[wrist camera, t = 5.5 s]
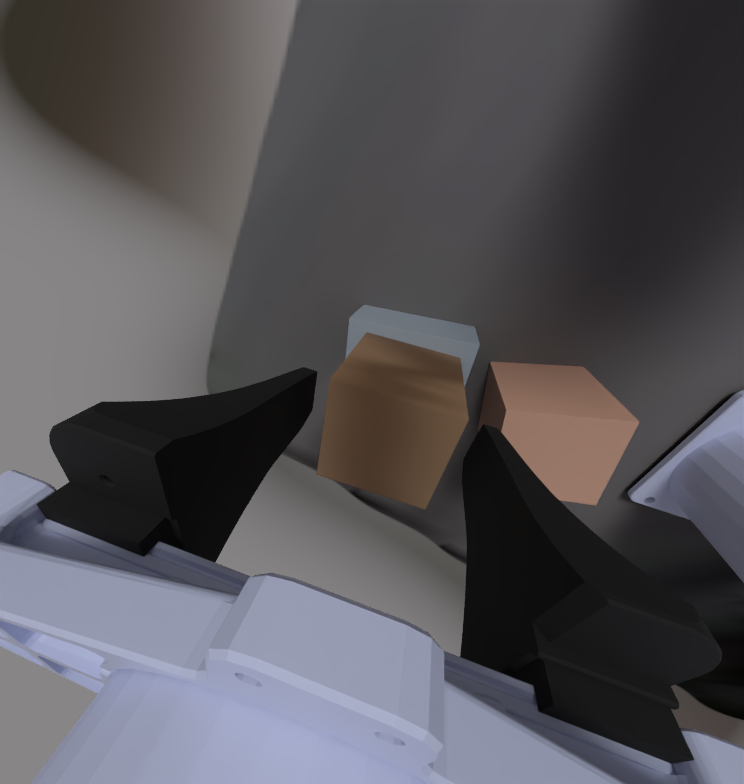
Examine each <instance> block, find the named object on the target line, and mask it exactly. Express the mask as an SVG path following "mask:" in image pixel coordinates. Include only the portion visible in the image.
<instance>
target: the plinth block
mask: <svg viewBox="0 0 744 784" xmlns="http://www.w3.org/2000/svg"><path fill="white" fill-rule="evenodd" d="M366 332H368V333H372V334H375V335H379V336H383V337H386V338H390V339H394V340H397V341H401V342H405V343H408V344H412V345H415V346H419V347H423V348H426V349H430V350H434V351H437V352H441V353H444V354H448V355H452V356H455V357H459V358H461V365H462V373H463V380H464V387H465V385H466V382H467V379H468V376H469V374H470V371H471V368H472V365H473V363H474V360H475V357H476V354H477V352H478V349H479V346H480V343H479V340H478V336H477V333H476V329H475V327H473V326H468V325H463V324H458V323H453V322H448V321H443V320H438V319H433V318H428V317H423V316H418V315H413V314H408V313H403V312H398V311H393V310H388V309H383V308H378V307H373V306H368V305H363V306H362V307H361V308H360V309H359V310H358V311H356V312H355V313H354V314H353V315H352V316H351V317H350V318H349V329H348V339H347V350H346V358H347V357H348V355H349V354H350V353H351V351H352V350H353V349H354V348H355V346H356V345H357V344H358V342H359V341H360V340H361V339H362V337H363V336H364V335H365V333H366Z"/></svg>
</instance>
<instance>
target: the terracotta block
mask: <svg viewBox="0 0 744 784" xmlns="http://www.w3.org/2000/svg"><path fill="white" fill-rule="evenodd" d="M483 424H485V425H488V426H492V427H495V428H498V429H499V430H500V431H501V432H502V434H503V435H504V436H505V437H506V438H507V440H508V441H509V442H510V444H511V445H512V446H513V447H514V449H515V450H516V451H517V453H518V454H519V455H520V456H521V458H522V459H523V460H524V461H525V463H526V464H527V465H528V466H529V468H530V469H531V470H532V471H533V472H534V473H535V475H536V476H537V477H538V478H539V479H540V480H541V481H542V483H543V484H544V485H545V486H546V487H547V488H548V489H549V490H550V491H551V493H552V494H553V495H554V496H555V497H556V498H557V499H558V500H562V501H569V502H576V503H583V504H589V505H596V504H597V502H598V500H599V498H600V496H601V495H602V493H603V491H604V489H605V487H606V485H607V483H608V481H609V479H610V477H611V475H612V474H613V472H614V470H615V468H616V466H617V464H618V462H619V460H620V458H621V456H622V455H623V453H624V451H625V449H626V447H627V445H628V443H629V441H630V439H631V437H632V435H633V434H634V432H635V430H636V428H637V426H638V424H639V421H638V420H637V419H636V418H635V417H634V416H633V415H632V414H631V413H630V412H629V411H628V410H627V409H626V408H625V407H624V406H623V405H622V404H621V403H620V402H619V401H618V400H617V399H616V398H615V397H614V396H613V395H612V394H611V393H610V392H609V391H608V390H607V389H606V388H605V387H604V386H603V385H602V384H601V383H600V382H599V381H598V380H597V379H596V378H595V377H594V376H593V375H592V374H591V373H590V372H589V371H588V370H587V369H586V368H584V367H582V366H563V365H545V364H526V363H507V362H490V365H489V370H488V376H487V381H486V387H485V392H484V398H483V403H482V408H481V414H480V419H479V425H478V432H479V430H480V429H481V427H482V425H483Z"/></svg>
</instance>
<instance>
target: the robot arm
mask: <svg viewBox="0 0 744 784" xmlns="http://www.w3.org/2000/svg"><path fill="white" fill-rule="evenodd" d="M316 378H317V371H314V370H311V369H308V368H305V367H303V368H300V369H297V370H294V371H291V372H288V373H286V374H283V375H280V376H277V377H275V378H272V379H269V380H266V381H263V382H260V383H256V384H253V385H250V386H246V387H243V388H239V389H235V390H231V391H226V392H222V393H217V394H211V395H204V396H197V397H191V398H183V399H172V400H159V401H136V402H135V401H131V402H101V403H98V404H96V405H94V406H92V407H90V408H88V409H86V410H84V411H82V412H80V413H78V414H76V415H75V416H72V417H71V418H69V419H67V420H65V421H63V422H61V423H59V424H57V425H55V426H53V428H52V429H51V432H50V435H49V436H50V444H51V447H52V450H53V452H54V454H55V455H56V457H57V459H58V461H59V463H60V465H61V467H62V469H63V470H64V472H65V474H66V476H67V478H68V480H69V481H70V482H69V483H68V484H66V485H64V486H63V487H61V488H60V489H58V490H56V489H55V488H54V487H52V486H51V485H50V484H48V483H46V482H44V481H41V480H39V479H36V478H34V477H31V476H28V475H26V474H23V473H21V472H18V471H15V470H9V471H7V472H5V473H3V474H1V475H0V646H1V647H2V648H4V649H7V650H9V651H11V652H13V653H15V654H17V655H19V656H21V657H23V658H25V659H27V660H29V661H31V662H33V663H36V664H38V665H40V666H42V667H44V668H46V669H48V670H50V671H52V672H54V673H56V674H58V675H60V676H62V677H64V678H66V679H68V680H70V681H72V682H75V683H77V684H79V685H81V686H83V687H85V688H87V689H89V690H91V691H93V692H95V693H97V694H98V695H97V696H96V697H95V699H94V700H93V701H92V703H91V704H90V705H89V707H88V708H87V709H86V711H85V712H84V713H83V714H82V716H81V717H80V719H79V720H78V721H77V722H76V724H75V725H74V726H73V728H72V729H71V731H70V732H69V733H68V735H67V736H66V737H65V738H64V740H63V741H62V742H61V744H60V745H59V747H58V748H57V749H56V750H55V752H54V753H53V754H52V756H51V757H50V758H49V760H48V761H47V762H46V764H45V765H44V766H43V768H42V769H41V770H40V772H39V773H38V774H37V776H36V777H35V778H34V780H33V781H32V782H31V784H744V747H741V746H738V745H736V744H733V743H730V742H728V741H725V740H723V739H720V738H717V737H715V736H712V735H709V734H707V733H704V732H701V731H698V730H694V729H688V728H679V726H678V723H677V721H676V719H675V717H674V715H673V713H672V711H671V709H674V710H675V709H678V708H679V702H678V700H677V698H676V696H675V694H674V692H673V690H672V688H671V686H672V685H675V684H678V683H681V682H684V681H686V680H689V679H692V678H695V677H698V676H701V675H703V674H706V673H708V672H710V671H712V670H714V668H715V667H716V666H717V665H718V664H719V663H720V661H721V656H722V651H721V649H720V647H719V646H718V644H717V642H716V641H715V639H714V638H713V636H712V634H711V633H710V631H709V630H708V628H707V627H706V625H705V624H704V622H703V620H702V619H701V617H700V616H699V614H698V613H697V611H696V610H695V608H694V607H693V606H691V605H690V604H688V603H687V602H686V601H684V600H683V599H681V598H680V597H678V596H677V595H676V594H674V593H673V592H671V591H670V590H668V589H667V588H666V587H664V586H663V585H661V584H660V583H658V582H657V581H655V580H654V579H653V578H651V577H650V576H648V575H647V574H646V573H644V572H643V571H641V570H640V569H639V568H638V567H636V566H635V565H634V564H632V563H631V562H630V561H628V560H627V559H626V558H624V557H623V556H622V555H621V554H619V553H618V552H617V551H615V550H614V549H613V548H612V547H611V546H609V545H608V544H607V543H606V542H604V541H603V540H602V539H601V538H600V537H598V536H597V535H596V534H595V533H594V532H593V531H591V530H590V529H589V528H588V527H587V526H586V525H585V524H583V523H582V522H581V521H580V520H579V519H578V518H577V517H576V516H575V515H574V514H572V513H571V512H570V511H569V510H568V509H567V508H566V507H565V506H564V505H563V504H562V503H561V502H560V501H559V500H558V499H557V498H556V497H555V496H554V495H553V494H552V493H551V491H550V490H549V489H548V488H547V487H546V486H545V485H544V484H543V483H542V481H541V480H540V479H539V478H538V477H537V476H536V475H535V473H534V472H533V471H532V470H531V469H530V468H529V466H528V465H527V464H526V463H525V461H524V460H523V459H522V458H521V456H520V455H519V454H518V453H517V451H516V450H515V449H514V447H513V446H512V445H511V444H510V442H509V441H508V440H507V438H506V437H505V436H504V435H503V434H502V432H501V431H500V430H499V429H498V428H495V427H492V426H488V425H485V424H483V425H482V427H481V429H480V430H479V432H478V434H477V436H476V438H475V439H474V441H473V443H472V445H471V446H470V448H469V450H468V452H467V454H466V455H465V457H464V459H463V473H462V486H463V498H464V509H465V520H466V532H467V569H466V591H465V608H464V622H463V634H462V645H461V656H460V657H458V656H456V655H453V654H450V653H448V652H445V651H443V650H442V649H441V648H440V646H439V645H438V644H437V642H436V641H435V640H434V639H433V638H432V637H431V636H430V634H428V632H426V631H424V630H422V629H420V628H419V627H417V626H415V625H413V624H411V623H409V622H407V621H405V620H403V619H400V618H397V617H395V616H392V615H389V614H387V613H384V612H382V611H379V610H376V609H374V608H371V607H368V606H366V605H363V604H360V603H358V602H355V601H353V600H350V599H347V598H345V597H342V596H340V595H337V594H334V593H332V592H329V591H326V590H324V589H321V588H319V587H316V586H313V585H311V584H308V583H305V582H303V581H300V580H297V579H294V578H291V577H287V576H282V575H278V574H274V573H268V574H260V575H255V576H252V577H250V576H248V575H245V574H243V573H240V572H237V571H235V570H232V569H230V568H227V567H225V566H222V565H219V564H217V563H215V562H216V560H217V558H218V556H219V554H220V553H221V551H222V549H223V547H224V545H225V543H226V541H227V540H228V538H229V536H230V534H231V532H232V531H233V529H234V527H235V525H236V524H237V522H238V520H239V518H240V517H241V515H242V513H243V511H244V510H245V508H246V506H247V505H248V503H249V501H250V500H251V498H252V496H253V495H254V493H255V491H256V490H257V488H258V487H259V485H260V483H261V482H262V480H263V478H264V477H265V475H266V474H267V472H268V471H269V469H270V468H271V467H272V465H273V464H274V462H275V461H276V460H277V459H278V458H279V456H280V455H281V454H282V452H283V451H284V450H285V449H286V447H287V446H288V445H289V444H290V442H291V441H292V440H293V438H294V437H295V436H296V435H297V433H298V432H299V431H300V429H301V428H302V427H303V425H304V423H305V422H306V420H307V418H308V416H309V415H310V413H311V411H312V408H313V401H314V393H315V386H316ZM628 496H629V497H630V499H631V500H632V501H634V502H636V503H639V504H643V505H646V506H649V507H652V508H655V509H658V510H661V511H664V512H667V513H670V514H673V515H676V516H680V517H683V518H686V519H689V520H691V521H692V522H693V523H694V524H695V526H696V527H697V528H698V529H699V530H700V532H701V533H702V534H703V535H704V536H705V537H706V539H707V540H708V541H709V542H710V543H711V545H712V546H713V547H714V548H715V549H716V551H717V552H718V553H719V554H720V555H721V556H722V558H723V559H724V560H725V561H726V562H727V564H728V565H729V566H730V567H731V568H732V569H733V571H734V572H735V573H736V574H737V575H738V577H739V578H740V579H741V580H742V581H743V582H744V390H742V391H740V392H737V393H736V394H734V395H733V396H732V397H731V398H730V399H729V400H728V401H727V402H725V403H724V404H723V405H722V406H721V407H720V408H719V409H718V410H717V411H716V412H714V413H713V414H712V415H711V416H710V417H709V418H708V419H707V420H706V421H705V422H703V423H702V424H701V425H700V426H699V427H698V428H697V429H696V430H695V431H694V432H692V433H691V434H690V435H689V436H688V437H687V438H686V439H685V440H684V441H683V442H681V443H680V444H679V445H678V446H677V447H676V448H675V449H674V450H673V451H672V452H670V453H669V454H668V455H667V456H666V457H665V458H664V459H663V460H662V461H661V462H659V463H658V464H657V465H656V466H655V467H654V468H653V469H652V470H651V471H650V472H648V473H647V474H646V475H645V476H644V477H643V478H642V479H641V480H640V481H639V482H638V483H636V484H635V485H634V486H633V487H632V488H631V489H630V490H629V491H628ZM670 708H671V709H670Z"/></svg>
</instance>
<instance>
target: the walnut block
mask: <svg viewBox="0 0 744 784" xmlns="http://www.w3.org/2000/svg"><path fill="white" fill-rule="evenodd" d="M468 420H469V417H468V409H467V402H466V395H465V387H464V380H463V373H462V365H461V358H459V357H455V356H452V355H448V354H444V353H441V352H437V351H434V350H430V349H426V348H423V347H419V346H415V345H412V344H408V343H405V342H401V341H397V340H394V339H390V338H386V337H383V336H379V335H375V334H372V333H368V332H366V333H365V335H364V336H363V337H362V339H361V340H360V341H359V342H358V344H357V345H356V346H355V348H354V349H353V350H352V351H351V353H350V354H349V355H348V357H347V358H346V359H345V360H344V362H343V363H342V364H341V366H340V367H339V368H338V369H337V371H336V372H335V373H334V375H333V376H332V377H331V378H330V383H329V390H328V397H327V405H326V412H325V419H324V426H323V433H322V440H321V447H320V454H319V461H318V469H317V475H320V476H323V477H326V478H329V479H332V480H335V481H338V482H341V483H345V484H348V485H351V486H354V487H357V488H360V489H363V490H366V491H369V492H372V493H375V494H378V495H381V496H385V497H388V498H391V499H394V500H397V501H400V502H403V503H406V504H409V505H412V506H415V507H418V508H421V509H426V507H427V505H428V503H429V501H430V499H431V497H432V495H433V493H434V491H435V489H436V487H437V485H438V482H439V480H440V478H441V476H442V474H443V472H444V470H445V468H446V466H447V464H448V462H449V460H450V458H451V456H452V454H453V451H454V449H455V447H456V445H457V443H458V441H459V439H460V437H461V435H462V433H463V431H464V429H465V427H466V425H467V423H468Z"/></svg>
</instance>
